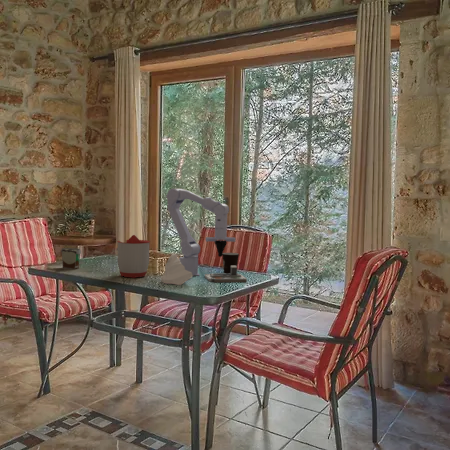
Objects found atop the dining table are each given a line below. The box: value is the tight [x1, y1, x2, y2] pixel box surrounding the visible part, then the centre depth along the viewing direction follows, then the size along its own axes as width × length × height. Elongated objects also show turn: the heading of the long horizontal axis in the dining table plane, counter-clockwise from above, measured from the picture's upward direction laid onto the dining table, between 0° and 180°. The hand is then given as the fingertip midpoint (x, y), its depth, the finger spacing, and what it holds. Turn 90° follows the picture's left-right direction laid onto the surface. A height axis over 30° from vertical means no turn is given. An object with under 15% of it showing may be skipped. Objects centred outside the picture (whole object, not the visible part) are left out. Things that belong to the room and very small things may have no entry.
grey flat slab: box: [204, 272, 247, 282], centre depth 243 cm, size 18×12×2 cm, turn 102°
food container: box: [60, 247, 82, 270], centre depth 263 cm, size 12×6×10 cm, turn 58°
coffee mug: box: [222, 252, 240, 273], centre depth 263 cm, size 12×9×10 cm
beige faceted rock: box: [160, 252, 193, 286], centre depth 230 cm, size 12×15×14 cm
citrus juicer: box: [116, 234, 151, 279], centre depth 244 cm, size 16×17×20 cm
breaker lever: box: [229, 265, 239, 275], centre depth 244 cm, size 4×3×5 cm
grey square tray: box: [204, 273, 247, 283], centre depth 243 cm, size 16×17×1 cm
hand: (220, 256), depth 246 cm, fingers closed
